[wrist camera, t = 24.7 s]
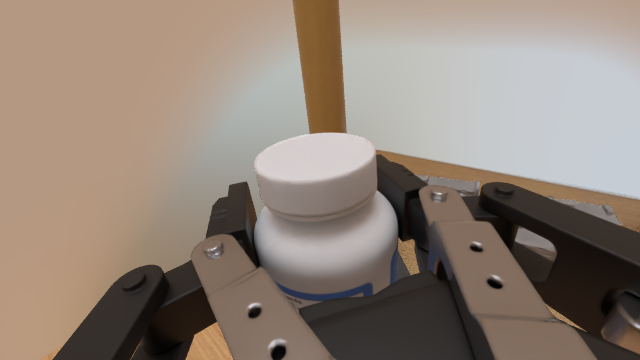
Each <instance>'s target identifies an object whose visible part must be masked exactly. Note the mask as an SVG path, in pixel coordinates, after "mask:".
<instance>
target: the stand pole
mask: <svg viewBox="0 0 640 360" xmlns="http://www.w3.org/2000/svg"><path fill="white" fill-rule="evenodd" d="M293 7H294V14H295V22H296V30H297V38H298V45H299V53H300V60H301V69H302V77H303V84H304V92H305V100H306V108H307V115H308V123H309V131H310V134H315V133H346V117H345V100H344V83H343V66H342V50H341V33H340V16H339V0H293ZM346 134H347V133H346Z"/></svg>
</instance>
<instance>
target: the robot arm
mask: <svg viewBox="0 0 640 360" xmlns="http://www.w3.org/2000/svg"><path fill="white" fill-rule="evenodd" d="M376 165H377V191H379V192H380V193H381V194H382V195H383V196H384V197H385V198H386V199H387V200H388V201H389V202H390V204H391V205H392V207H393V209H394V211H395V214H396V217H397V222H398V237H399V238H400V239H401V241H402V242H404V241H407V240H411V239H414V240H415V248H414V249H415V254H416V258H417V263H418V267H419V271H420V273H418V274H414V275H411V276H407V277H404V278H401V279H399V280H397V281H396V282H394V283H392V284H391V285H389V286H387V287H386V288H384V289H382V290H381V291H379V292H377V293H376V294H374V295H372V296H365V297H348V298H333V299H329V300H326V301H322V302H319V303H316V304H312V305H309V306H305V307H302V308H299V313H298V312H297V310H296V309H295V308H294V306H293V305H292V304H291V302H290V301H289V300H288V299H287V297H286V296H285V295H284V293H283V292H282V291H281V289H280V288H279V287H278V286H277V284H276V283H275V282H274V280H273V279H272V278H271V277H270V275H269V274H268V273H267V271H266V270H265V269H264V268H263V267H262V266H260V262H259V259H258V255H257V252H256V248H255V244H254V228H255V224H256V221H257V217H256V212H255V209H254V205H253V201H252V198H251V194H250V190H249V186H248V183H247V182H241V183H237V184H232V185H229V192H228V197H223V198H219V199H218V200H217V201H216V203H215V204H214V205H213V207H212V212H211V216H210V221H209V225H208V230H207V234H206V239H205V240H203V241H202V242H200V243H199V244H198V245H197V246H196V247H195V248H194V249H193V251H192V253H191V260H190V261H189V262H187V263H185V264H183V265H181V266H179V267H177V268H175V269H172V270H170V271H168V272H166V273H164V272H163V270H162V269H161V267H159V266H157V265H146V266H142V267H139V268H136V269H134V270H132V271H130V272H128V273H126V274H125V275H123V276H122V277H120V278H119V279H118V280H117V281H116V282H115V283H114V284H113V285H112V286H111V287H110V288H109V289H108V291H107V292H106V294H105V295H104V296H103V297H102V298H101V300H100V301H99V302H98V303H97V305H96V306H95V307H94V308H93V310H92V311H91V312H90V313H89V315H88V316H87V317H86V318H85V320H84V321H83V322H82V323H81V325H80V326H79V327H78V328H77V330H76V331H75V332H74V333H73V335H72V336H71V337H70V338H69V340H68V341H67V342H66V343H65V345H64V346H63V347H62V348H61V350H60V351H59V352H58V353H57V355H56V356H55V357H54V358H53V360H130V359H131V357H132V355H133V354H134V355H133V357H132V359H131V360H185V359H186V357H187V354H188V351H189V349H190V346H191V343H192V341H193V338H194V335H195V334H197V333H198V332H200V331H202V330H203V329H205V328H207V327H209V326H210V325H212V324H214V323H215V322H218V325H219V327H220V329H221V332H222V334H223V336H224V339H225V341H226V343H227V346H228V348H229V351H230V353H231V355H232V358H233V360H640V233H638V232H635V231H633V230H630V229H628V228H625V227H622V226H620V225H617V224H615V223H612V222H609V221H607V220H604V219H602V218H599V217H596V216H594V215H591V214H589V213H586V212H583V211H581V210H578V209H576V208H573V207H570V206H568V205H565V204H563V203H560V202H557V201H555V200H552V199H550V198H547V197H544V196H542V195H539V194H537V193H534V192H531V191H529V190H526V189H524V188H521V187H518V186H516V185H513V184H509V183H502V182H491V183H487V184H484V185H483V186H482V188H481V192H480V196H460V194H459V193H458V192H457V191H456V190H455V189H453V188H450V187H448V186H443V185H428V184H427V183H426V182H424V181H423V180H422V179H420V178H419V177H418V176H416V175H414V173H412V172H411V171H409V170H408V169H407V168H405V167H404V166H403V165H400V164H397V163H395V162H390V161H388V160H387V159H386V158H385V157H383V156H382V155H380V154H379V155H376ZM519 226H521V227H523V228H525V229H527V230H529V231H531V232H533V233H535V234H537V235H539V236H541V237H543V238H545V239H547V240H548V241H550V242H551V243H552V244H553V245H554V246H555V248H556V250H557V255H556V258H555V260H554V262H553V261H551V260H549V259H547V258H545V257H543V256H542V255H540V254H538V253H536V252H534V251H533V250H531V249H529V248H527V247H525V246H524V245H522V244H520V243H518V242H516V241H515V239H516V235H517V232H518V229H519ZM545 303H546V304H547V305H548V306H550V307H551V308H553V309H554V310H556V311H557V312H559V313H560V314H562V315H563V316H565V317H566V318H568V319H569V320H571V321H572V322H573V323H575V324H576V325H578V326H579V327H581V328H582V329H584V330H585V331H583V330H581V329H579V328H576V327H574V326H571V325H569V324H567V323H566V322H564V321H561V320H559V319H557V318H556V317H555V316H554V315H553V314H552V313H551V312H550V310H549V309H548V307H547V306H546V304H545ZM586 331H587V332H586ZM138 345H139V346H138ZM137 346H138V348H137ZM136 348H137V350H136ZM135 350H136V352H135ZM134 352H135V353H134Z"/></svg>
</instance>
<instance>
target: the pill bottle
mask: <svg viewBox="0 0 640 360" xmlns="http://www.w3.org/2000/svg"><path fill="white" fill-rule="evenodd" d="M254 169H255V173H256V178H257V182H258V186H259V193H260V197H261V199H262V200H263V202H264V204H265V207H264V208H263V209H262V211H261V212H260V214H259V216H258V218H257V221H256V224H255V228H254V244H255V248H256V252H257V255H258V259H259V262H260V266H262V267H263V268H264V269H265V270H266V271H267V273H268V274H269V275H270V277H271V278H272V279H273V280H274V282H275V283H276V284H277V286H278V287H279V288H280V289H281V291H282V292H283V293H284V295H285V296H286V297H287V299H288V300H289V301H290V302H291V304H292V305H293V306H294V308H295V309H296V310H297V312H298V313H299V308H302V307H305V306H309V305H312V304H316V303H319V302H322V301H326V300H329V299H333V298H348V297H365V296H372V295H374V294H376V293H377V292H379V291H381V290H382V289H384V288H386V287H387V286H389V285H391V284H392V283H394V282H396V281H397V259H398V222H397V217H396V214H395V211H394V209H393V207H392V205H391V204H390V202H389V201H388V200H387V199H386V198H385V197H384V196H383V195H382V194H381V193H380V192H379V191H377V165H376V150H375V147H374V145H373V144H372V143H371V142H370V141H368V140H367V139H365V138H362V137H360V136H356V135H352V134H346V133H315V134H308V135H302V136H298V137H294V138H290V139H286V140H284V141H281V142H278V143H276V144H274V145H272V146H270V147H268V148H266V149H265V150H264V151H262V152H261V153H260V154H259V155H258V156H257V158H256V159H255V162H254Z"/></svg>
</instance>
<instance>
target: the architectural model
mask: <svg viewBox="0 0 640 360" xmlns="http://www.w3.org/2000/svg"><path fill="white" fill-rule="evenodd" d="M414 175H415V174H414ZM416 176H418V177H419V178H420V179H422V180H423V181H424V182H426V183H427V184H428V185H443V186H448V187H450V188H453V189H455V190H456V191H457V192H458V193H459V194H460V196H478V193H479V188H480V181H476V182H473V181H472V182H470V181H468V182H466V181H465V180H462V181H461V180H458V181H456V179H449V180H447V179H448V178H440V177H430V179H428V175H427V174H426V175H425V176H423V175H421V176H419V175H416ZM473 183H475V184H473ZM548 198H550V199H552V200H554V197H552V196H549V197H548ZM555 201H557V202H560V203H563V204H565V205H568V206H570V207H573V208H576V209H578V210H581V211H583V212H586V213H589V214H591V215H594V216H596V217H599V218H602V219H604V220H607V221H609V222H612V223H615V224H617V225H620V224H621V222H620V221H616V220H617V218H616V217H617V216H616V215H613V214H614V211H613V209H612V208H611V206H610V205H608V204H604V205H603V207H597V206H600V204H598V205H597V204H592V205H589V204H591V203H588V202H585V203H584V202H579V203H576V202H578V201H575V200H572V201H570V200H567V199H563V200H562V199H557V200H555ZM620 226H622V225H620ZM515 241H516V242H518V243H520V244H522V245H524V246H525V247H527V248H529V249H531V250H533V251H534V252H536V253H538V254H540V255H542V256H543V257H545V258H547V259H549V260H551V261H554V260H555V258H556V255H557V250H556V248H555V246H554V245H553V244H552V243H551V242H550V241H548V240H547V239H545V238H543V237H541V236H539V235H537V234H535V233H533V232H531V231H529V230H527V229H525V228H523V227H521V226H519V229H518V232H517V235H516V239H515Z"/></svg>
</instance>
